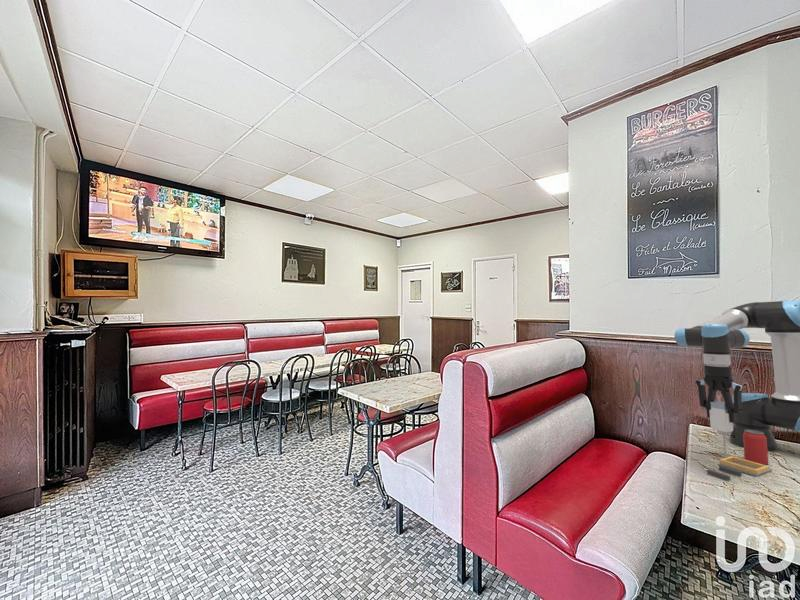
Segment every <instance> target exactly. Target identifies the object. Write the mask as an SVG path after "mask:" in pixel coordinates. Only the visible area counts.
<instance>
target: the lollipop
mask: <svg viewBox="0 0 800 600" xmlns="http://www.w3.org/2000/svg"><path fill="white" fill-rule="evenodd" d="M715 431H716V432H718V434H721V435H723V450H724V451H723V452H724V458H727V445H726V435H730V434H731V433H732V432H733V431H730V432H723V431H719V430H715Z"/></svg>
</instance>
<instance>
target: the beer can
mask: <svg viewBox="0 0 800 600" xmlns="http://www.w3.org/2000/svg"><path fill="white" fill-rule="evenodd" d="M743 443H744V447H743V455H744V457H743V458H744V460H748V461H751V462H755V463H759V464H762V465H766V466H768V464H769V456H768V453H769V451H767V439H766V437H765V435H764V433H763V432H761V431H757V430H749V429H746V430H744V433H743Z"/></svg>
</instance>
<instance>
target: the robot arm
mask: <svg viewBox="0 0 800 600" xmlns="http://www.w3.org/2000/svg"><path fill="white" fill-rule="evenodd" d="M743 329H764V333H765V334H766V335H768V336H770V337H769V338H770V344H771V353H772V355H771V356H772V364H773V373H774V385H775V386H774V387H775V392H774V393H773V394H771V397H770V398H769V395H768V394H767V393H759V392H743V390H744V385H742V384H737V383H736V382H734V379H733V377H732V376H733V375H732V367H731V365H732V360H731V349H735V350H737V349H742V348H745V347H746V346H748V344H750V340H751V338H750V335H749V333H747V332H746V331H744V330H743ZM674 340H675V343H676V344H677V345H678V346H681V347H682V346H684V347H693V348H694V347H696V348H697V347H698V348H702V352H703V353H702V356H703V364H705V365H704V366H703V369H704V371H703V372H704V377H703V379H698V380H695V384H696V386H697V388H698V389H697V390H698V398H699V399H698V400H699V406H700V407H702V408H704V409H706V417H707V418H709V421H710V423H709V425H710V429H713V428H712V414H711V402H713V401H716V400H715V399H716V395H717V392H718V391H719V392H720V393H721V395H722V397H723V400H724V401H723V402H725V404H726V407H727V411H728V412H727V413H725V415H726V429H727V431H728V432H730V431H733V432H732V433H730V434H729V441H730V443H732V444H733V445H736V446H739V447H742V448H744V443H743V433H744V430H746V429H749V430H757V431H761V432H763V433H764V435H765V437H766V439H767V452H769V451H770V452H775V451H778V450H779V447H778V443H777V441H776V439H775V436H774V434H773V433H772V431H771V426H772V427H775V428H776V427H778V428H780V429H781V428H782V429H786V430H791V431H795V432H800V300H777V301H761V302H759V301H758V302H757V301H756V302H755V301H754V302H749V303H744V304H741V305H737V306H734V307H732V308H730V309H727V310H725V311H723V312H722V314H721V315H718V316H717V317H714V318H712V319H710V320H707V321H704V322H702V323H700V324H698V325H696V326H695V325H694V326H693V327H691V328H690V327H689V328H686V327H683V328H678V329H676V331H675V332H674ZM706 385H707V386H708V389H707V390H706ZM731 387H732V389H733V395H731V390H730V389H731ZM707 392H708V393H707Z"/></svg>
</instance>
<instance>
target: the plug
mask: <svg viewBox="0 0 800 600" xmlns="http://www.w3.org/2000/svg"><path fill="white" fill-rule="evenodd" d="M727 412H728V411H727V407H726V404H725V401H720V400H715V401H713V402H711V414H712V428H711V429H712V430H715V431H716V430H719V431H723V432H728V431H727V429H726V415H725V413H727Z"/></svg>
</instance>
